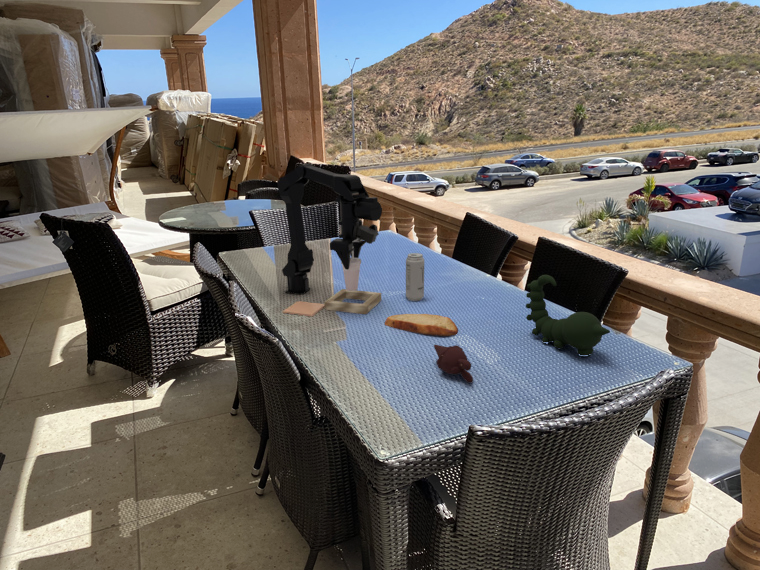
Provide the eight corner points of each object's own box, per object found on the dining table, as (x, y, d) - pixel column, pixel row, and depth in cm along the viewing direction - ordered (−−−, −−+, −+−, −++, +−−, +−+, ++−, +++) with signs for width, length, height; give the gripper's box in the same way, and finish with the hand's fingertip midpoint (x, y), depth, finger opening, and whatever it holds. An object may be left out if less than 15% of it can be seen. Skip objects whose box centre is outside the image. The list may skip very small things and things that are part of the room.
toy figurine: (518, 341, 145) (595, 369, 124) (518, 274, 141) (598, 291, 120) (542, 334, 150) (621, 360, 129) (543, 269, 146) (624, 284, 125)
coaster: (282, 313, 164) (282, 311, 164) (298, 302, 173) (298, 301, 173) (311, 316, 161) (311, 314, 161) (325, 306, 170) (325, 304, 170)
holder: (324, 309, 167) (324, 302, 166) (342, 295, 179) (342, 288, 178) (366, 314, 162) (365, 306, 161) (381, 300, 175) (381, 293, 174)
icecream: (419, 339, 127) (455, 369, 115) (445, 327, 130) (482, 355, 117) (424, 362, 131) (459, 394, 118) (448, 350, 133) (485, 379, 121)
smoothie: (359, 292, 165) (358, 249, 161) (339, 291, 167) (338, 248, 162) (363, 286, 171) (363, 244, 167) (344, 285, 173) (343, 243, 168)
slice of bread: (381, 322, 157) (380, 310, 156) (436, 314, 163) (436, 303, 162) (403, 345, 141) (403, 332, 140) (463, 335, 146) (464, 323, 145)
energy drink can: (422, 302, 172) (423, 257, 168) (404, 301, 174) (404, 256, 169) (424, 296, 178) (425, 253, 174) (407, 295, 179) (407, 252, 175)
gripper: (363, 224, 151) (364, 277, 156) (384, 213, 168) (385, 261, 172) (327, 222, 155) (329, 273, 159) (352, 211, 171) (353, 258, 176)
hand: (351, 266), depth 167 cm, fingers closed on smoothie, 6 cm apart
